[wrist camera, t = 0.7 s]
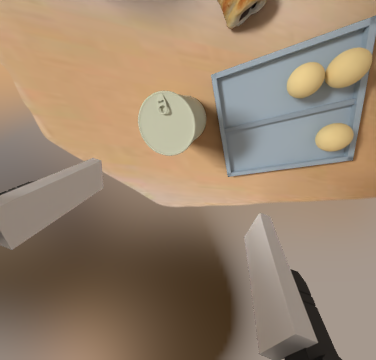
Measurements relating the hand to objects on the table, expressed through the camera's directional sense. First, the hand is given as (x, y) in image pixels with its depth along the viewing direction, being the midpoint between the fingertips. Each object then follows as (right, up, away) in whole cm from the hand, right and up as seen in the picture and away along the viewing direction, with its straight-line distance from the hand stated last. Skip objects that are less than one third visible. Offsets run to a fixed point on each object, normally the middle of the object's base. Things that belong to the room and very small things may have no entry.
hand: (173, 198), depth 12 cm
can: (+1, +15, +20) cm, 25 cm away
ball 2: (+24, +18, +11) cm, 32 cm away
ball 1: (+20, +18, +13) cm, 29 cm away
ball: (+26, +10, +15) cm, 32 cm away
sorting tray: (+18, +13, +16) cm, 28 cm away
